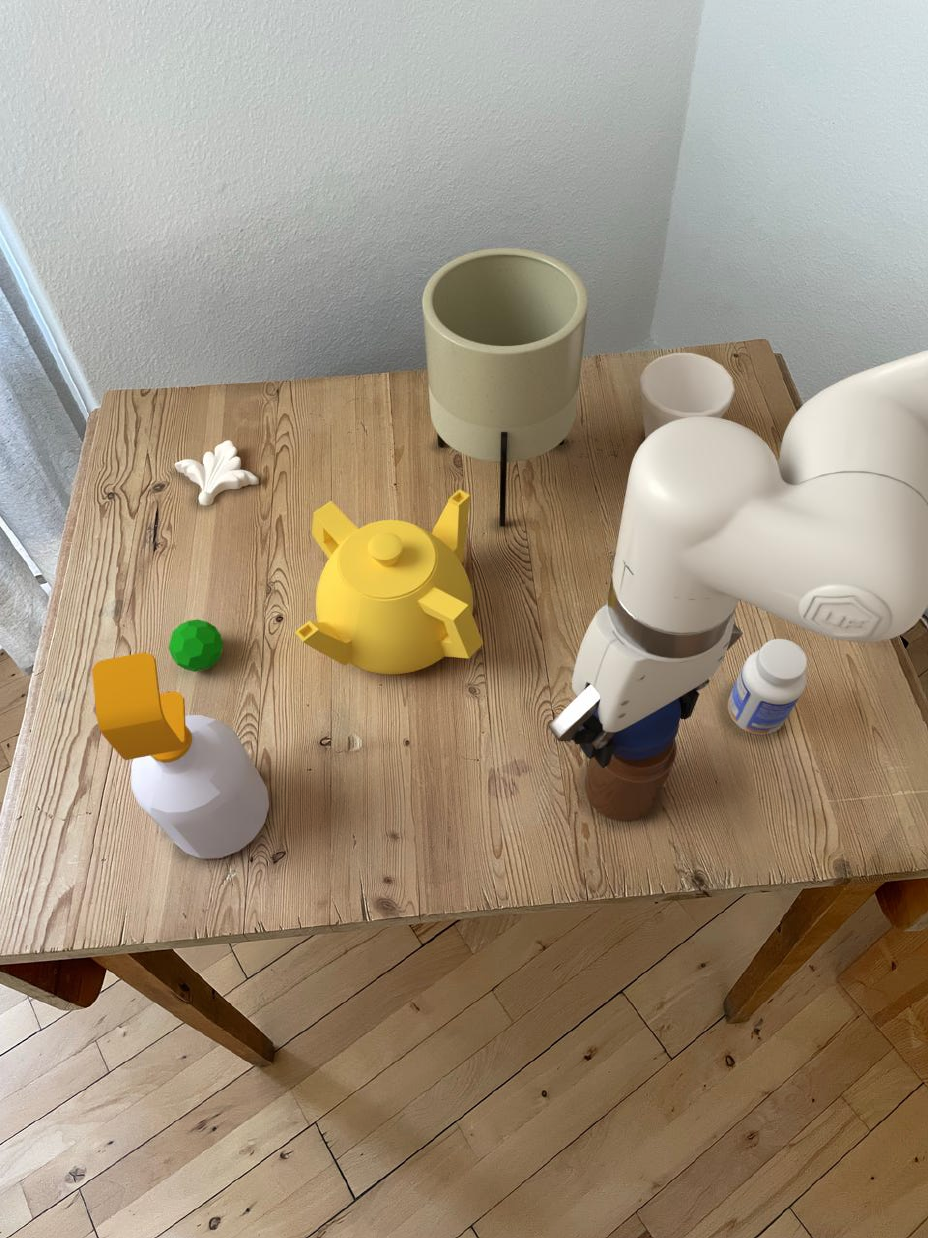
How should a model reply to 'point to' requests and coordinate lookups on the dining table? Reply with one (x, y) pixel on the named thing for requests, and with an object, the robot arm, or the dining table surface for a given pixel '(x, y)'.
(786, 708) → the pill bottle
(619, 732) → the jar lid
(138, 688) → the soap bottle
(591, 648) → the robot arm
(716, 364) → the cup
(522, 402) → the planter
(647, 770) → the jam jar
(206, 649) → the polyhedron
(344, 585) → the teapot
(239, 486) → the acanthus leaf ornament
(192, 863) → the dining table surface
